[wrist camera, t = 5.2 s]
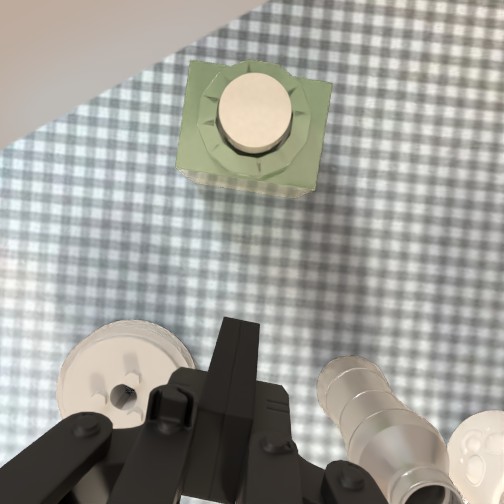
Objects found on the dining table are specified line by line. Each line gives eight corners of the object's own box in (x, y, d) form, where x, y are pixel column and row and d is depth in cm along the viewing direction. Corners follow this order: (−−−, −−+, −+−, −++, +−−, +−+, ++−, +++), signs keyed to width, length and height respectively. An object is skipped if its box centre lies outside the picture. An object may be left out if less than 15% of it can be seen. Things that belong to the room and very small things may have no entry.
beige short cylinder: (292, 91, 28) (297, 79, 26) (281, 158, 29) (285, 152, 26) (226, 80, 28) (224, 66, 26) (216, 148, 29) (213, 140, 26)
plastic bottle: (304, 360, 44) (357, 477, 24) (369, 340, 44) (475, 441, 24) (322, 419, 44) (388, 583, 24) (386, 400, 44) (505, 548, 24)
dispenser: (307, 122, 42) (339, 72, 28) (295, 199, 42) (320, 188, 28) (205, 105, 42) (186, 46, 28) (194, 183, 42) (169, 164, 28)
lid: (162, 461, 44) (152, 492, 39) (50, 405, 43) (24, 429, 38) (220, 353, 43) (217, 370, 38) (107, 295, 43) (89, 305, 38)
